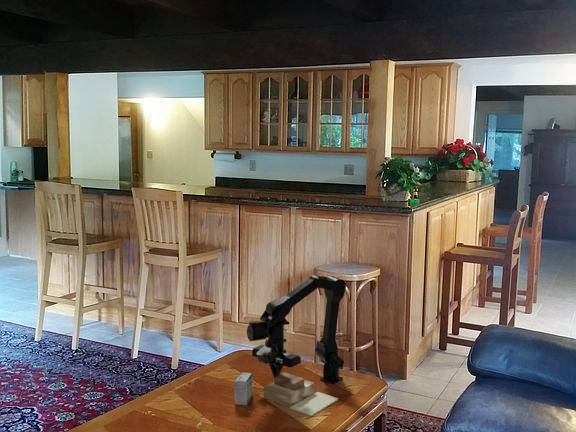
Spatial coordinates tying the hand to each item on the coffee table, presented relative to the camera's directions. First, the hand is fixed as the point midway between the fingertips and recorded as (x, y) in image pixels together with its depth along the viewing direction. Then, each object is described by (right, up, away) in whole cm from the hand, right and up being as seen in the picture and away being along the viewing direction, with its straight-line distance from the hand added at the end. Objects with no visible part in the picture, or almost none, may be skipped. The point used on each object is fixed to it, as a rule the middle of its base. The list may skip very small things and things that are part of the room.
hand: (276, 378), depth 218 cm
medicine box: (-11, -6, -7) cm, 15 cm away
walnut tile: (+5, -1, -4) cm, 6 cm away
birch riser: (+5, -5, -3) cm, 8 cm away
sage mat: (+14, -6, -10) cm, 18 cm away
